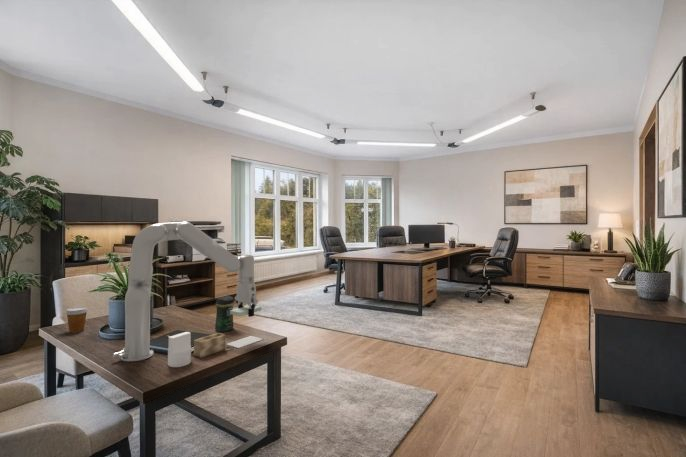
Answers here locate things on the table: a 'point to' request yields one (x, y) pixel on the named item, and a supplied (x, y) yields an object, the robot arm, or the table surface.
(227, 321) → the coffee jar
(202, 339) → the pencil box
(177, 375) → the table surface
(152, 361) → the table surface
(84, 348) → the table surface
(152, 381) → the table surface
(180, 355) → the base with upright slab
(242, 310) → the lid
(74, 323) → the disposable coffee cup
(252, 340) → the felt mat
